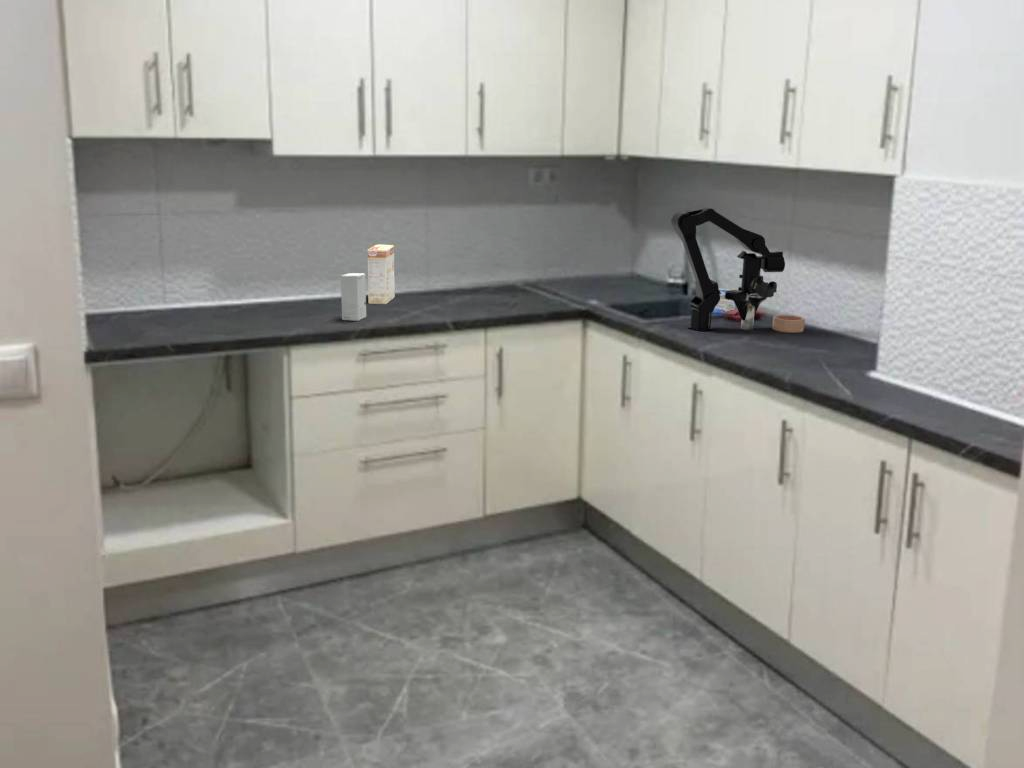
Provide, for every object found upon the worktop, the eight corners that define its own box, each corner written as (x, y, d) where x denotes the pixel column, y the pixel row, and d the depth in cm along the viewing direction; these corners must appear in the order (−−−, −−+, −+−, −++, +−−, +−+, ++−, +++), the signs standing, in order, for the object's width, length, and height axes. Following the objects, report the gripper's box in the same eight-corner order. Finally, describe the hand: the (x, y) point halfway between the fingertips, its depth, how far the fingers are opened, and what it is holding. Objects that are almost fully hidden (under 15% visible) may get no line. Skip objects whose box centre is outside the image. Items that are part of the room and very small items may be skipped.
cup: (791, 333, 336) (792, 321, 335) (766, 328, 343) (767, 316, 342) (809, 330, 342) (810, 318, 341) (784, 325, 349) (785, 313, 348)
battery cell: (747, 330, 340) (749, 304, 338) (738, 328, 343) (740, 303, 341) (755, 328, 343) (757, 303, 341) (745, 326, 346) (747, 301, 344)
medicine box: (712, 313, 369) (714, 289, 367) (716, 311, 373) (718, 287, 371) (734, 315, 366) (736, 291, 363) (737, 313, 369) (739, 289, 367)
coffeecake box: (376, 296, 386) (376, 244, 381) (395, 297, 385) (395, 244, 380) (367, 303, 371) (366, 249, 367) (386, 304, 371) (386, 249, 366)
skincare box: (358, 321, 339) (357, 276, 335) (340, 320, 340) (340, 275, 337) (366, 316, 347) (366, 272, 343) (349, 315, 348) (349, 271, 345)
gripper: (753, 277, 327) (749, 326, 330) (789, 273, 338) (785, 320, 342) (725, 273, 335) (721, 320, 339) (761, 269, 346) (757, 315, 350)
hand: (747, 319), depth 342 cm, fingers closed on battery cell, 4 cm apart
